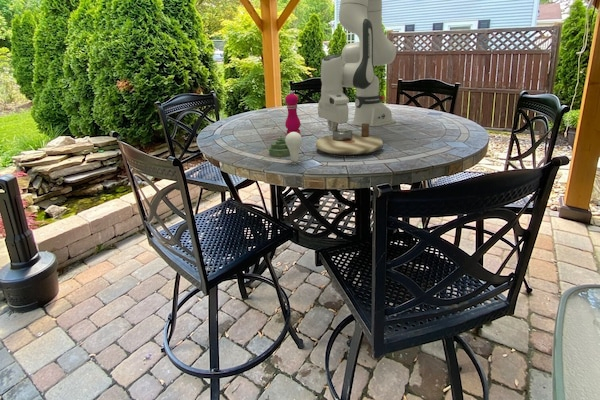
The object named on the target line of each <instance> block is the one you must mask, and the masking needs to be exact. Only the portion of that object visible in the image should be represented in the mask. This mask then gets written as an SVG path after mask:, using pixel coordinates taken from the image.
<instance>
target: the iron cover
mask: <svg viewBox="0 0 600 400" xmlns="http://www.w3.org/2000/svg"><path fill="white" fill-rule="evenodd" d="M353 134H354V133H353V130H352V129H347V128H338V130H334V131H333V132H332V135H333V140H335V141H349V140H352V136H353Z"/></svg>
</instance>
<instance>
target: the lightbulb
mask: <svg viewBox="0 0 600 400" xmlns="http://www.w3.org/2000/svg"><path fill="white" fill-rule="evenodd" d="M284 140H285V142H286V145H287V147H288V148H289V151H290V155H291V156H290V159H291V161H292V162H293V163H296V162H297V161H299V154H300V150H301V146H302V144H303V136H302V135H301V133H300V134H299V133H297V132H291V133H289V134H288V135H287V134H286V136H285V139H284Z"/></svg>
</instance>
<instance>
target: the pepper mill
mask: <svg viewBox="0 0 600 400" xmlns="http://www.w3.org/2000/svg"><path fill="white" fill-rule="evenodd" d="M298 102H299V97H298V95H297V94H294V91H293V90H289V94H287V95H286V97H285V103H286V109H287V117H286V120H285V124H284V126H285V128H286V129H287V130H286V136H287V135H288V134H289V133H291V132H297V133H299V134H300V135H301V130H300V128H301V121H300V119H299V116H298V112H297V109H298Z"/></svg>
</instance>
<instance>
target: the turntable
mask: <svg viewBox="0 0 600 400" xmlns="http://www.w3.org/2000/svg"><path fill="white" fill-rule="evenodd" d="M315 147H316V149H318V151H320V152H324V153H325V152H328V153H334V154H362V153H369V152H372V153H374V152H375V151H376V152H377V151H379V150H380V149H381V148H382V147H383V139H381V138H380V137H377V136H374V135H370V126H369V124H367V123H364V124H362V126H361V133H353V136H352V140H349V141H335V140H333V134H332V135H331V134H330V135H325V136H322V137H320V138H318V139H316V141H315Z"/></svg>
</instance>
